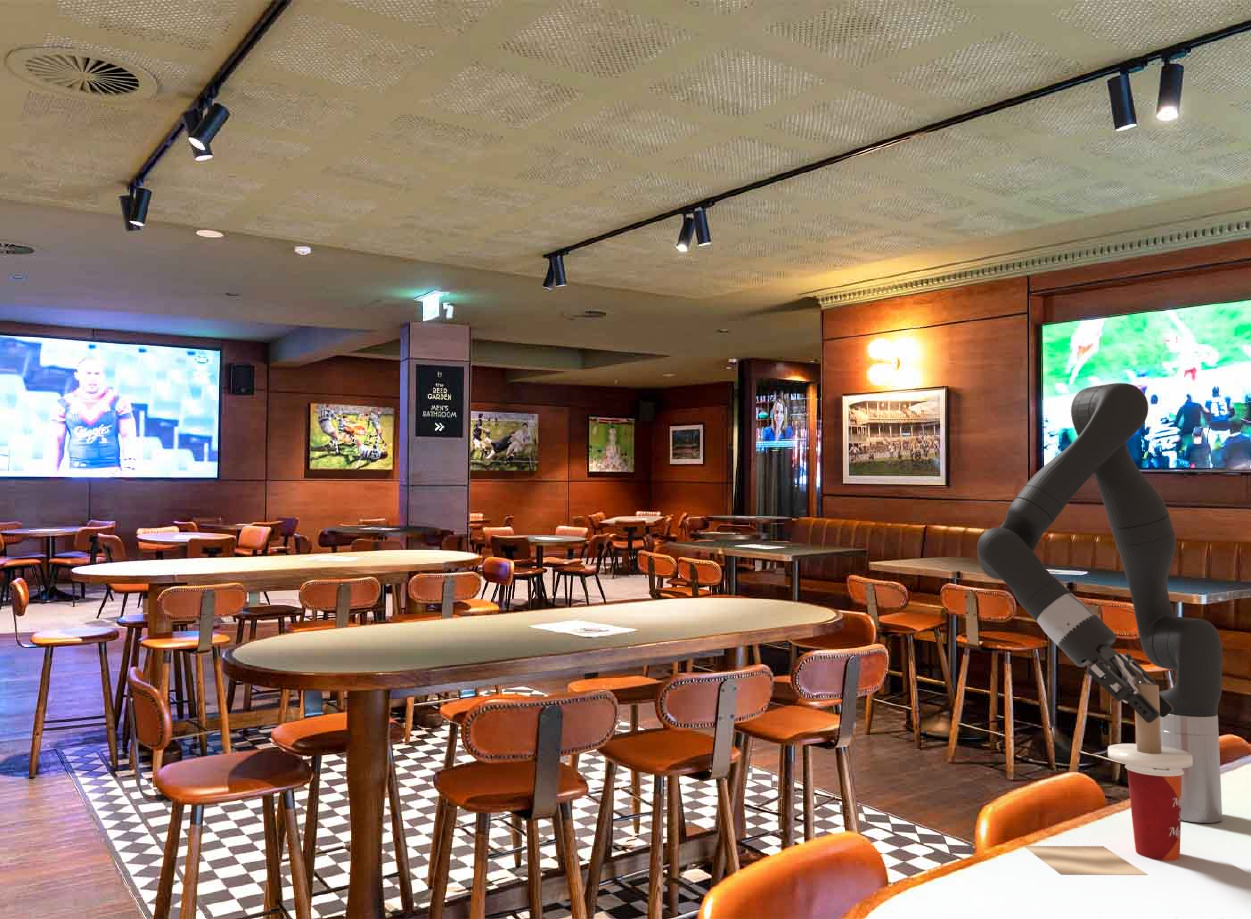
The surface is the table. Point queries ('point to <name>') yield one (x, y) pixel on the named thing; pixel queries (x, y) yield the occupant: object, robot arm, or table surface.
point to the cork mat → (1084, 860)
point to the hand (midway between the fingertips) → (1161, 716)
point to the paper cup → (1156, 811)
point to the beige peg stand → (1149, 741)
